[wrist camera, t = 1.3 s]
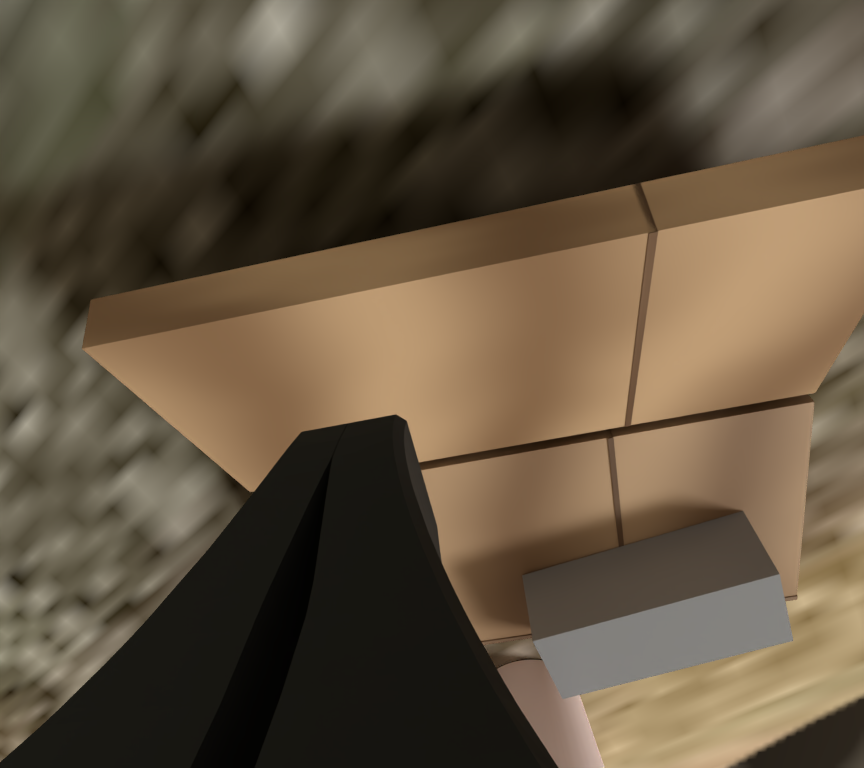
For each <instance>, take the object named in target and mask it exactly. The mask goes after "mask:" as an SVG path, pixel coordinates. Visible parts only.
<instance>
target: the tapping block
mask: <svg viewBox="0 0 864 768" xmlns="http://www.w3.org/2000/svg"><path fill="white" fill-rule="evenodd" d="M522 578H523V584H524V590H525V596H526V603H527V609H528V615H529V621H530V627H531V633H532V639H533V642H534V644H535V646H536V648H537V650H538V652H539V654H540V656H541V658H542V660H543V662H544V664H545V666H546V668H547V670H548V672H549V674H550V676H551V678H552V680H553V682H554V684H555V685H556V687H557V689H558V691H559V693H560V695H561V697H562V699H566V698H569V697H573V696H577V695H581V694H585V693H589V692H593V691H597V690H601V689H605V688H609V687H613V686H617V685H621V684H625V683H629V682H632V681H636V680H640V679H644V678H648V677H652V676H656V675H660V674H664V673H668V672H672V671H676V670H680V669H684V668H688V667H692V666H695V665H699V664H703V663H707V662H711V661H715V660H719V659H723V658H727V657H731V656H735V655H739V654H743V653H747V652H751V651H755V650H758V649H762V648H766V647H770V646H774V645H778V644H782V643H786V642H790V641H793V637H792V632H791V627H790V622H789V617H788V612H787V607H786V602H785V597H784V593H783V588H782V583H781V578H780V574H779V572H778V570H777V568H776V567H775V565H774V563H773V562H772V560H771V558H770V556H769V555H768V553H767V551H766V549H765V548H764V546H763V544H762V543H761V541H760V539H759V537H758V536H757V534H756V532H755V530H754V529H753V527H752V525H751V524H750V522H749V520H748V518H747V517H746V515H745V513H744V512H743V511H741V512H737V513H734V514H730V515H727V516H724V517H720V518H717V519H713V520H710V521H706V522H703V523H700V524H696V525H693V526H689V527H686V528H683V529H679V530H676V531H672V532H669V533H665V534H662V535H659V536H655V537H652V538H648V539H645V540H641V541H638V542H635V543H631V544H628V545H624V546H621V547H617V548H614V549H611V550H607V551H604V552H600V553H597V554H594V555H590V556H587V557H583V558H580V559H576V560H573V561H570V562H566V563H563V564H559V565H556V566H552V567H549V568H546V569H542V570H539V571H535V572H532V573H528V574H525V575H522Z"/></svg>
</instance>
